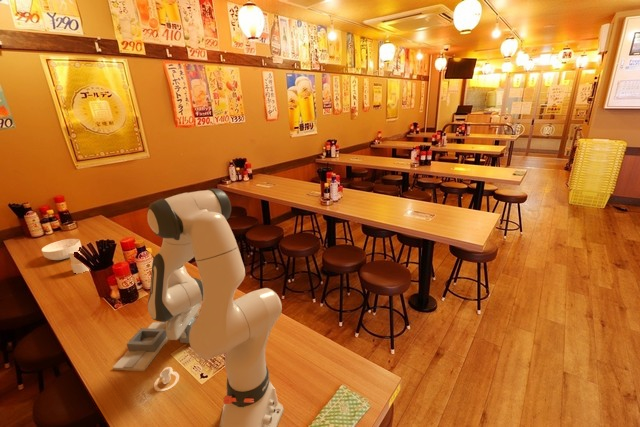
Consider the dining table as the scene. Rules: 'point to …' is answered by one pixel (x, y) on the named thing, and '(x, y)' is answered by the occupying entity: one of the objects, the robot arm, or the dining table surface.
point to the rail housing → (143, 348)
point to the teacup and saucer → (166, 378)
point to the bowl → (61, 249)
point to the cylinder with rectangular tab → (77, 263)
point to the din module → (186, 340)
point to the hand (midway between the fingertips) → (188, 331)
